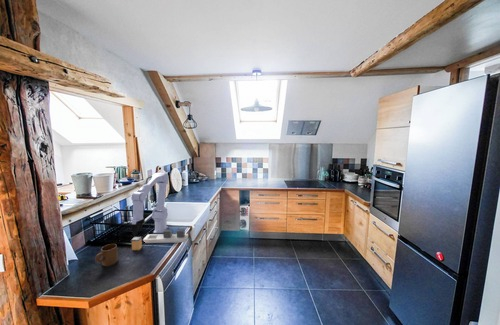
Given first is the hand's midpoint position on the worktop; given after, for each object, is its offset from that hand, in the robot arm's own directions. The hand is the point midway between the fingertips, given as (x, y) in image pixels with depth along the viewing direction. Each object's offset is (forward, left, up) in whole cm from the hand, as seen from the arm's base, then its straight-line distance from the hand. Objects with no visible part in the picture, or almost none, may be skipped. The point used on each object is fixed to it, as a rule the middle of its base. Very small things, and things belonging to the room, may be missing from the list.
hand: (137, 232), depth 128 cm
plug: (0, -1, -11) cm, 11 cm away
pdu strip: (-10, +14, -11) cm, 21 cm away
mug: (+16, -10, -11) cm, 22 cm away
